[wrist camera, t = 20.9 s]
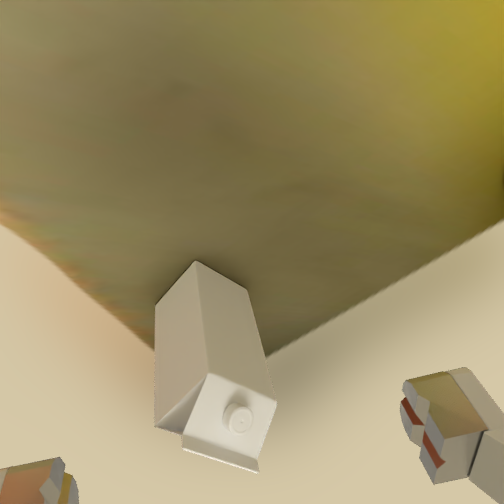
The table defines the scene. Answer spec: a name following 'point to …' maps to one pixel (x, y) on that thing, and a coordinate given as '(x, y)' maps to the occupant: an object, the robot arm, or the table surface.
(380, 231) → the table surface
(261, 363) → the milk carton
